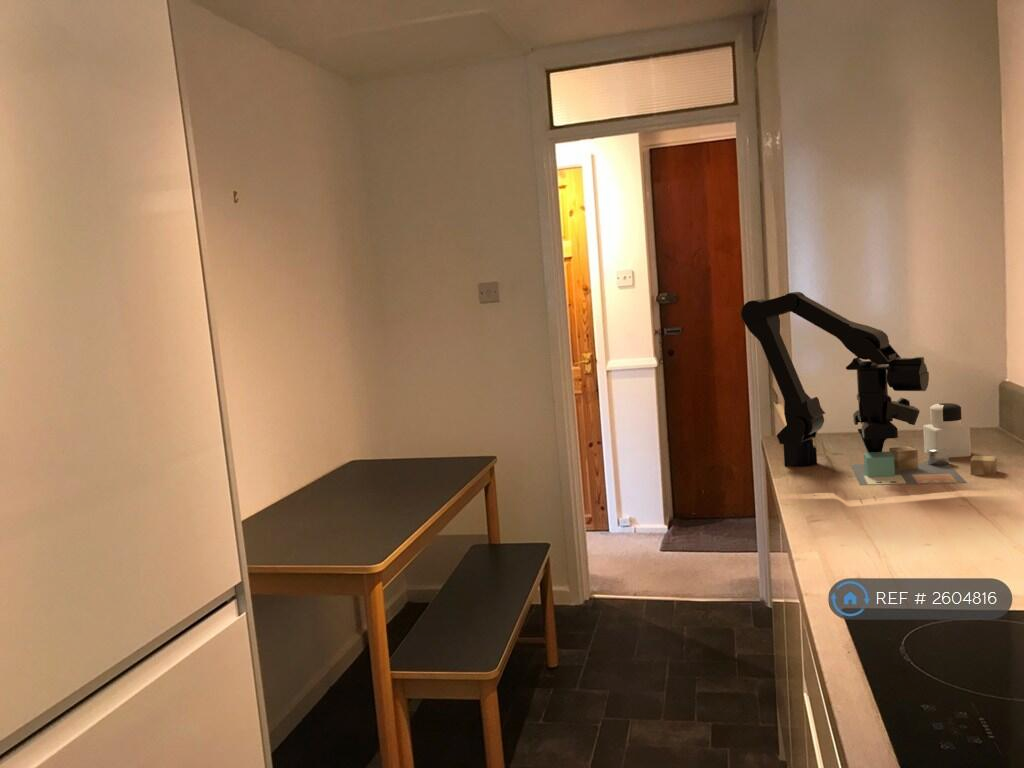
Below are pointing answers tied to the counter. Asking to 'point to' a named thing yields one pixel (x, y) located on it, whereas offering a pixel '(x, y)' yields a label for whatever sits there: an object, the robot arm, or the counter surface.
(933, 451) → the metal tin
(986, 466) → the oak cube
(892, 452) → the oak cube
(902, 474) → the board
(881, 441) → the robot arm
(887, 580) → the counter surface
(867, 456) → the green cube
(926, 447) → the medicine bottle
